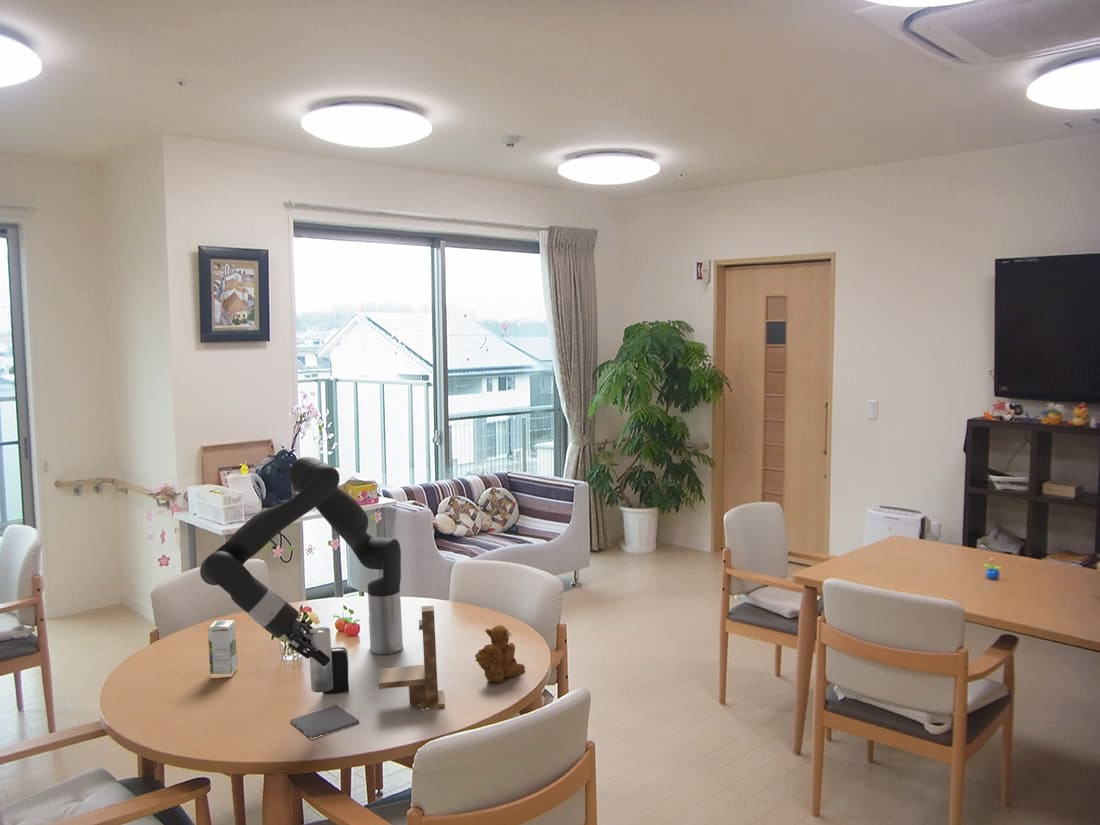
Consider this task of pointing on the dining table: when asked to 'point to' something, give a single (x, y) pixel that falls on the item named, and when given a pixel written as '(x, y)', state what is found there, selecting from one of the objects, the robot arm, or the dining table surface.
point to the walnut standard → (419, 670)
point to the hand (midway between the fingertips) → (328, 658)
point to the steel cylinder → (319, 673)
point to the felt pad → (325, 721)
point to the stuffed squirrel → (499, 656)
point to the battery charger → (339, 671)
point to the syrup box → (222, 647)
